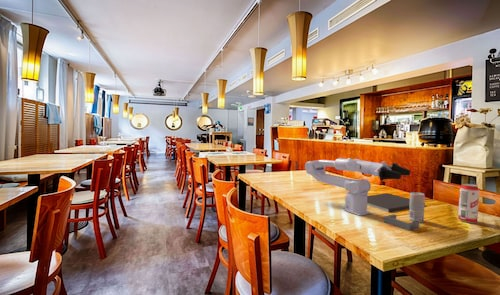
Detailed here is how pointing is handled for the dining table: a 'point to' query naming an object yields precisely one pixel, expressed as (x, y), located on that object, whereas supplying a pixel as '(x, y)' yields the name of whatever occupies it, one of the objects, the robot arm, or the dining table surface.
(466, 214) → the beer can
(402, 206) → the notebook
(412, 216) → the energy drink
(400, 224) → the metal berth
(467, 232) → the dining table surface
